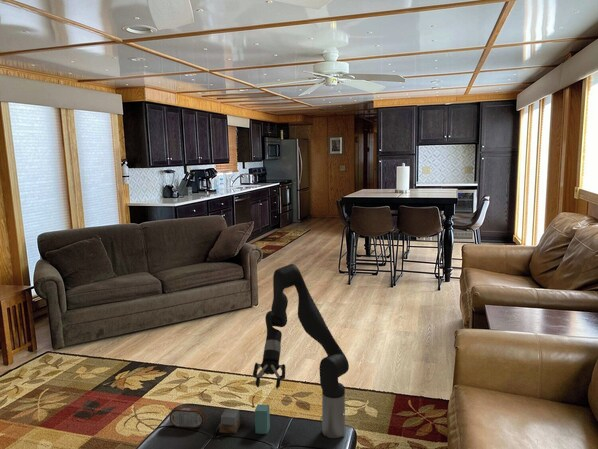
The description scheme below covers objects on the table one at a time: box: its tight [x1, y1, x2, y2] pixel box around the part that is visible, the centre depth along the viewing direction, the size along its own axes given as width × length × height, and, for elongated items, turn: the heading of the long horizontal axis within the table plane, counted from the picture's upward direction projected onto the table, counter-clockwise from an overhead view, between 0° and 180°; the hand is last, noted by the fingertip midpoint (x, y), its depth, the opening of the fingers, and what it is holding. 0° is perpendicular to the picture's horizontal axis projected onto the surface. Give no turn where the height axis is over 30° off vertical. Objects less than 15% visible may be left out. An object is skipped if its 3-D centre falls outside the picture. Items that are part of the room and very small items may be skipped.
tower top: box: [220, 408, 240, 425], centre depth 192 cm, size 6×6×4 cm
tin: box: [169, 405, 206, 429], centre depth 194 cm, size 15×3×8 cm, turn 84°
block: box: [254, 403, 271, 435], centre depth 191 cm, size 5×5×10 cm
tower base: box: [218, 416, 241, 434], centre depth 193 cm, size 7×7×4 cm
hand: (267, 387), depth 200 cm, fingers open, 8 cm apart
